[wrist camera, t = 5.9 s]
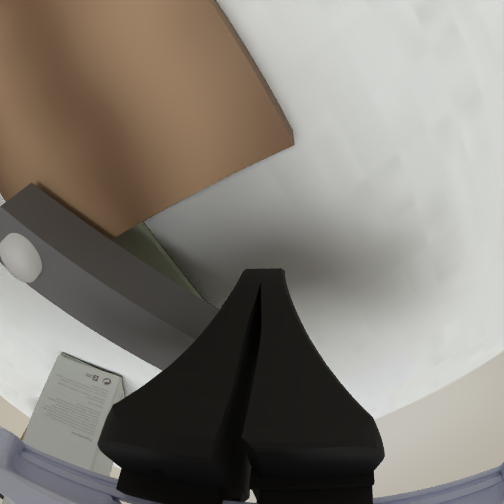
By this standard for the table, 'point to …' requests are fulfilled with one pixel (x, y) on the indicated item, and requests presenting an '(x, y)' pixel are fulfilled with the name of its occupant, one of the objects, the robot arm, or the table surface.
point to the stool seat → (129, 110)
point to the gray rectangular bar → (98, 280)
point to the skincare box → (74, 414)
